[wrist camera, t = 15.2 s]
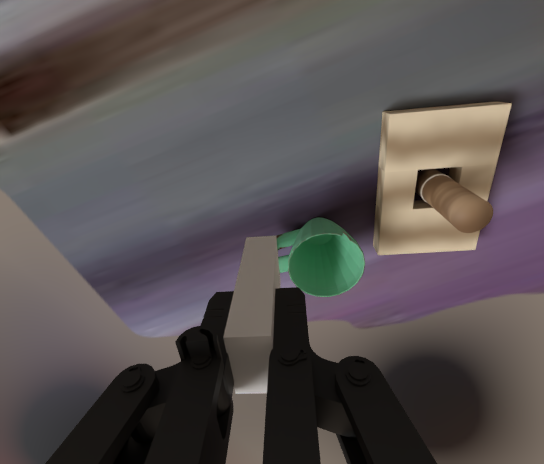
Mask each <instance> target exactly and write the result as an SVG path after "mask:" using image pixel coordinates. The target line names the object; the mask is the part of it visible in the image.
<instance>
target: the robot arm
mask: <svg viewBox="0 0 544 464" xmlns="http://www.w3.org/2000/svg"><path fill="white" fill-rule="evenodd" d="M176 345H177V348H178V352H179V355H180V358H181V362H179V363H178V364H176V365H173V366H171V367H167V368H164V369H161V370H158V371H154V369H153V368H152V366H150V365H148V364H136V365H133V366H130V367H128V368H127V369H125V370H123V371H122V372H121V373H120V374H119V375H118V376H117V377H116V378H115V379H114V380H113V381H112V383H111V384H110V385H109V386H108V387H107V389H106V390H105V391H104V392H103V394H102V395H101V396H100V397H99V399H98V400H97V401H96V402H95V403H94V405H93V406H92V407H91V408H90V409H89V411H88V412H87V413H86V414H85V416H84V417H83V418H82V419H81V421H80V422H79V423H78V424H77V425H76V427H75V428H74V429H73V430H72V432H71V433H70V434H69V435H68V437H67V438H66V439H65V440H64V441H63V443H62V444H61V445H60V447H59V448H58V449H57V450H56V451H55V453H54V454H53V455H52V456H51V457H50V459H49V460H48V461H47V462H46V464H225V463H226V457H227V450H228V442H229V436H230V430H231V423H232V416H233V401H232V393H233V387H234V388H235V393H236V394H251V393H267V401H266V417H265V434H264V451H263V464H320V453H319V443H318V431H317V427H319V428H322V429H325V430H327V431H330V432H333V433H336V435H337V438H338V440H339V443H340V446H341V449H342V451H343V454H344V457H345V459H346V462H347V464H437V463H436V461H435V459H434V458H433V456H432V455H431V453H430V451H429V450H428V448H427V446H426V445H425V443H424V441H423V440H422V438H421V437H420V435H419V433H418V432H417V430H416V429H415V427H414V425H413V424H412V422H411V420H410V419H409V417H408V416H407V414H406V412H405V410H404V409H403V407H402V406H401V404H400V403H399V401H398V399H397V397H396V396H395V394H394V393H393V391H392V389H391V388H390V386H389V384H388V383H387V381H386V379H385V378H384V376H383V375H382V373H381V371H380V370H379V369H378V367H377V366H376V365H375V364H374V363H373V362H371V361H369V360H368V359H366V358H363V357H359V356H349V357H346V358H344V359H342V360H341V361H340V362H339V363H336V362H332V361H328V360H325V359H323V358H321V357H319V356H318V355H316V354H315V353H314V352H313V350H312V349H311V347H310V344H309V337H308V326H307V315H306V304H305V295H304V293H303V292H302V291H301V289H300V288H299V287H296V288H280V271H279V261H278V250H277V239H276V236H264V237H247V238H246V242H245V246H244V251H243V255H242V259H241V264H240V268H239V272H238V276H237V281H236V285H235V289H234V291H230V292H216V293H215V294H214V296H213V297H212V298H211V299H210V300H209V302H208V305H207V308H206V311H205V314H204V319H203V320H202V323H201V326H197V327H193V328H190V329H188V330H186V331H185V332H184V333H182V334H181V335H180V336H179V337H178V339H177V341H176Z"/></svg>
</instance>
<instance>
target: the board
mask: <svg viewBox="0 0 544 464" xmlns="http://www.w3.org/2000/svg"><path fill="white" fill-rule="evenodd" d="M511 105H512V103H504V102H485V103H473V104H462V105H451V106H440V107H428V108H417V109H406V110H395V111H383V114H382V127H381V141H380V155H379V169H378V183H377V197H376V211H375V224H374V238H373V246H374V248H375V250H376V252H377V254H378V255H390V254H408V253H426V252H445V251H463V250H475V248H476V244H477V240H478V236H479V232H480V230H479V231H477V232H473V233H463V232H460V231H459V230H457V229H456V228H455V227H454V226H453V225H452V224H451V223H450V222H448V221H447V220H446V219H445V218H444V217H443V216H442V215H441V214H440V213H438V212H437V211H436V210H435V209H434V208H433V207H432V206H431V205H430V204H428V203H427V202H425V201H424V200H418V201H414V195H415V188H416V180H417V173H418V170H423V169H437V168H450V170H449V177H450V178H451V179H452V180H454V181H455V182H457V183H459V184H460V185H462V186H463V187H465V188H466V189H468V190H470V191H471V192H473V193H474V194H476V195H478V196H479V197H481V198H482V199H484V200H486V201H487V200H488V196H489V192H490V188H491V184H492V180H493V176H494V172H495V168H496V164H497V160H498V156H499V153H500V149H501V145H502V141H503V137H504V133H505V129H506V125H507V121H508V117H509V113H510V109H511Z"/></svg>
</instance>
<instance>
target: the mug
mask: <svg viewBox="0 0 544 464" xmlns="http://www.w3.org/2000/svg"><path fill="white" fill-rule="evenodd" d="M276 239H277V250H279V249H282V248H285V247H288V246H291V245H293V247H292V249H291V252H290V254H289V255H286V256H281V257H278V261H279V271H280V273H282V272H287V271H288V272H289V275H290V278H291V280H292V281H293V283H294V284H295V285H296V286H297V287H299V288H300V289H301V290H302V291H303V292H305V293H307V294H310V295H313V296H317V297H330V296H335V295H340V294H342V293H344V292H346V291H348V290H350V289H351V288H352V287H353V286H354V285H355V284H357V283H358V281H359V280H360V278H361V276H362V275H363V272H364V267H365V260H364V254H363V251H362V250H361V248H360V247H359V245H358V243H357V242H356V240H355V239H354V238H352V237H351V236H350V235H349V234H348V233H347V232H346V231H345V230H344V229H343V228H341V227H340V226H339V225H337V224H336V223H334V222H333V221H331V220H328V219H325V218H320V217H317V218H313V219H311V220H309V221H308V222H307V223H306V224H305V225H304V226H303V227H302V228H301V229H297V230H294V231H291V232H287V233H284V234H280V235H277V236H276Z"/></svg>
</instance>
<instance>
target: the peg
mask: <svg viewBox="0 0 544 464" xmlns="http://www.w3.org/2000/svg"><path fill="white" fill-rule="evenodd" d="M415 192H416V193H417V194H418V195H420V196H421V197H422V199H423V200H424V201H425V202H427V203H428V204H430V205H431V206H432V207H433V208H434V209H435V210H436V211H437V212H438V213H440V214H441V215H442V216H443V217H444V218H445V219H446V220H447V221H448V222H450V223H451V224H452V225H453V226H454V227H455V228H456V229H457V230H459V231H460V232H463V233H473V232H477V231H479V230H481V229H483V228H484V227H485V226H486V225H487V224H488V223H489V222H490V220H491V218H492V216H493V208H492V206H491V204H490V203H489V202H487V201H486V200H484V199H482V198H481V197H479V196H478V195H476V194H474V193H473V192H471V191H470V190H468V189H466V188H465V187H463V186H462V185H460V184H459V183H457V182H455V181H454V180H452V179H451V178H450V177H449V176H447V175H445V174H443V173H441V172H439V171H438V170H436V169H423V170H421V171H420V172H419V173H418V174H417V180H416V188H415Z"/></svg>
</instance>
